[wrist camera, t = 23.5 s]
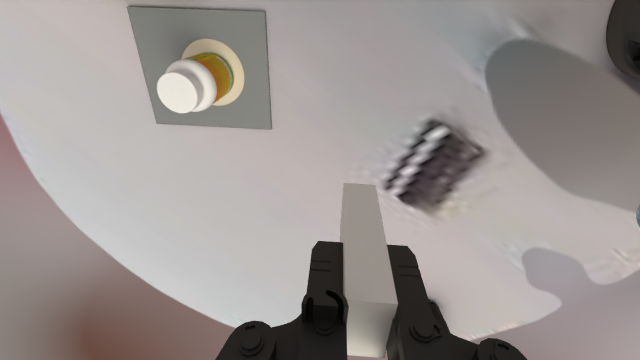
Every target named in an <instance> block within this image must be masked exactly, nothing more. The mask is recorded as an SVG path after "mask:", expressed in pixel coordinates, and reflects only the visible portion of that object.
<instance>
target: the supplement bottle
mask: <svg viewBox="0 0 640 360" xmlns="http://www.w3.org/2000/svg"><path fill="white" fill-rule="evenodd" d="M233 85H234V72H233V69H232V67H231V65H230V64H229V62H228V61H227V60H226V59H225V58H224V57H223V56H221V55H219V54H217V53H214V52H204V53H200V54H197V55H194V56H191V57H188V58H185V59H181V60H178V61H176V62H174V63H172V64H171V65H170V66H169V67H168V68H167V70H166V72H165V74H164V75H162V76H161V77H160V79H159V80H158V83H157V92H158V96H159V98H160V100H161V101H162V103H163V104H164V105H165V106H166V107H167V108H169V109H170V110H172V111H174V112H177V113H188V112H190V111H191V112H199V111H202V110H205V109H207V108H208V107H210V106H211V105H213V104H214V103H215V102H217V101H218V100H219V99H221V98H222V97H224V96H225V95H226V94H228V93H229V92H230V90H231V89H232V87H233Z"/></svg>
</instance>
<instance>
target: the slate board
mask: <svg viewBox="0 0 640 360" xmlns="http://www.w3.org/2000/svg"><path fill="white" fill-rule="evenodd" d="M127 10H128V14H129V18H130V22H131V26H132V30H133V33H134V37H135V41H136V45H137V49H138V53H139V57H140V61H141V65H142V68H143V72H144V76H145V80H146V84H147V88H148V92H149V96H150V100H151V103H152V107H153V111H154V115H155V119H156V123H157V124H171V125H191V126H210V127H230V128H249V129H269V130H271V129H272V120H271V102H270V83H269V65H268V46H267V28H266V12H263V11H234V10H206V9H177V8H149V7H127ZM204 52H214V53H217V54H219V55H221V56H223V57H224V58H225V59H226V60H227V61H228V62H229V64H230V65H231V67H232V69H233V72H234V85H233V87H232V89H231V90H230V92H229V93H228V94H226V95H225V96H224V97H222V98H221V99H219V100H218V101H217V102H215V103H214V104H213V105H211V106H210V107H208V108H207V109H205V110H202V111H199V112H191V111H190V112H188V113H177V112H174V111H172V110H170V109H169V108H167V107H166V106H165V105H164V104H163V103H162V101H161V100H160V98H159V96H158V92H157V83H158V80H159V79H160V77H161V76H162V75H164V74H165V72H166V70H167V68H168V67H169V66H170V65H171V64H172V63H174V62H176V61H178V60H181V59H185V58H188V57H191V56H194V55H197V54H200V53H204Z"/></svg>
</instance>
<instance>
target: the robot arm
mask: <svg viewBox="0 0 640 360" xmlns="http://www.w3.org/2000/svg"><path fill="white" fill-rule="evenodd" d="M607 45H608V50H609V54H610V56H611V58H612V60H613V62H614V63H615V65H616V66H617V67H618V68H619V69H620V70H621V71H623V72H624V73H626V74H628V75H630V76H633V77H636V78H640V0H616V3H615V5H614V7H613V10H612V13H611V16H610V19H609V24H608V30H607ZM636 219H637V222H638V225H639V227H640V205H639V207H638V209H637V213H636ZM386 350H387V356H388V360H527V359H526V358H525V357H524V356H523V354H521V352H520V351H519V350H518V349H516V348H515V347H514V346H512V345H511V344H509V343H507V342H505V341H502V340H499V339H493V338H488V339H485V340H483V341H481V343H480V344H479V345H478V344H475V343H472V342H470V341H467V340H464V339H462V338H459V337H457V336H455V335H453V334H451V333H449V332H448V331H446V330H445V329H444V328H443V327H442V325H441V324H440V323H439V322H438V321H437V320H436V319H435V318H434V315H433V313H432V310H431V307H430V304H429V300H428V297H427V294H426V290H425V287H424V284H423V280H422V278H421V274H420V270H419V269H418V263H417V260H416V257H415V255H414V254H413V253H412V251H411V250H410V249H409V248H408V246H399V245H387V244H386V238H385V233H384V228H383V223H382V218H381V212H380V207H379V202H378V197H377V191H376V186H375V185H366V184H348V183H344V187H343V199H342V211H341V224H340V242H327V241H318V242H317V244H316V245H315V246H314V248H313V249H312V254H311V263H310V271H309V279H308V287H307V294H306V295H305V296H304V299H303V301H302V313H301V314H300V315H299V316H298V317H297V318H296V319H295V320H293V321H292V322H290V323H287V324H284V325H280V326H276V327H272V328H271V327H270V326H269V325H267V324H266V323H264V322H261V321H250V322H246V323H244V324H242V325H240V326H239V327H237V328H236V329H235V330H234V332H233V333H232V334H231V335H230V336H229V338H228V340H227V341H226V343H225V345H224V346H223V348H222V350H221V351H220V353H219V355H218V356H217V358H216V360H347V355H354V356H367V357H379V358H385V354H386Z"/></svg>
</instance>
